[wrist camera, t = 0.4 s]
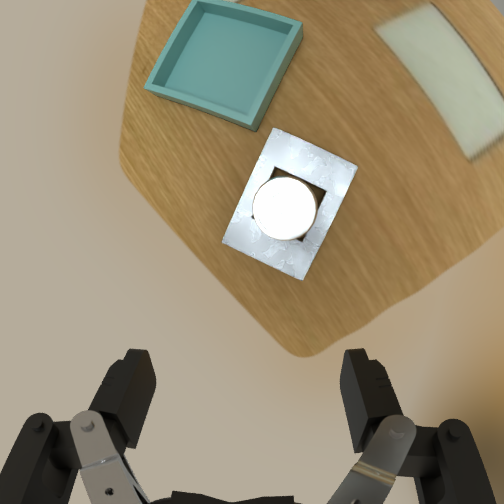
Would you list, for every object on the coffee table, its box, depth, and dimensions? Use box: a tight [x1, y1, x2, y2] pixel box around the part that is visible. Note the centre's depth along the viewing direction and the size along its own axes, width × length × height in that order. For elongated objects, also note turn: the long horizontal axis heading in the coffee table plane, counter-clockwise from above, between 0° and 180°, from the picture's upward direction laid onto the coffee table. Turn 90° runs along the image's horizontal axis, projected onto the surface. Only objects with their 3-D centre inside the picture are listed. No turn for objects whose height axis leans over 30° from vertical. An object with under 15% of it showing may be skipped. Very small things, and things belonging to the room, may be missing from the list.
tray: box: [144, 0, 303, 132], centre depth 32 cm, size 14×14×4 cm
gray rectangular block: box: [222, 127, 358, 281], centre depth 35 cm, size 14×10×2 cm
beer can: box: [252, 175, 318, 241], centre depth 31 cm, size 5×5×12 cm
